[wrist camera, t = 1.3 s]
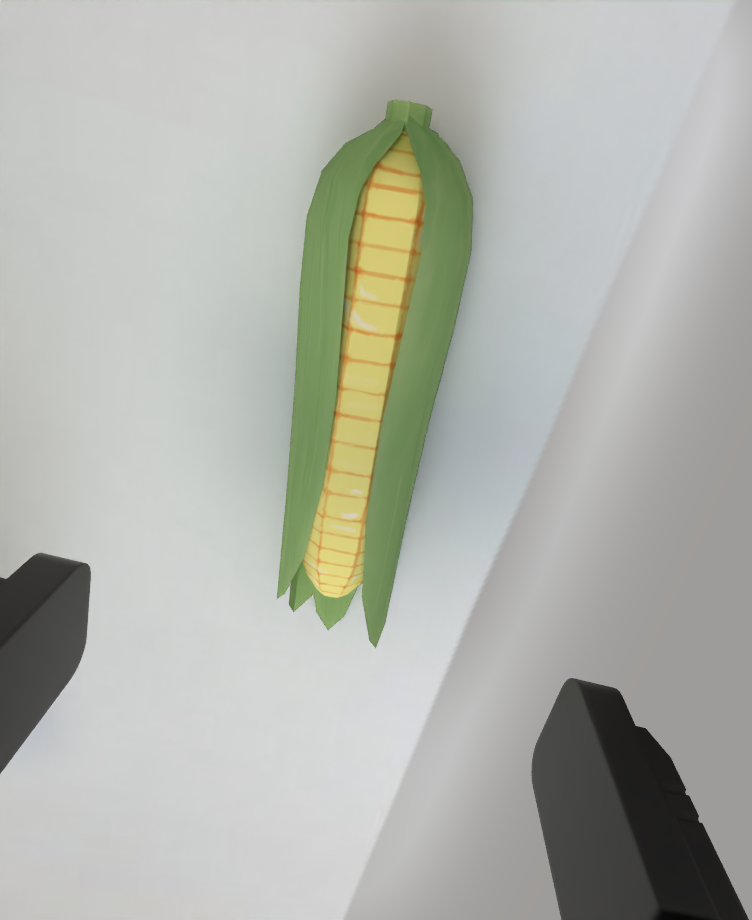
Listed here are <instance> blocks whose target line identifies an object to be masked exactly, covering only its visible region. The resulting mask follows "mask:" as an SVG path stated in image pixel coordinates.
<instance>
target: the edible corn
mask: <svg viewBox="0 0 752 920" xmlns="http://www.w3.org/2000/svg"><path fill="white" fill-rule="evenodd" d="M431 115H432V109H431V108H429V107H428V106H426V105H422V104H418V103H414V102H410V101H400V100H392V101H388V105H387V112H386V118H385V119H384V120H383V121H382V122H381V123H380V124H379V125H377V126H376V127H375V128H374V129H372V130H370V131H368V132H366V133H364V134H362V135H361V136H359V137H357V138H355V139H353V140H351V141H349V142H347V143H345V144H344V146H343V147H342V148H341V149H340V150H339V151H338V153H337V154H336V155H335V156H334V157H333V158H332V160H331V161H330V162H329V163H328V164H327V165H326V167H325V168H324V169H323V170H322V172H321V175H320V178H319V181H318V184H317V187H316V190H315V193H314V196H313V199H312V203H311V206H310V209H309V212H308V215H307V220H306V230H305V241H304V251H303V262H302V272H301V282H300V298H299V317H298V337H297V356H296V375H295V390H294V403H293V416H292V429H291V442H290V455H289V468H288V481H287V494H286V505H285V515H284V526H283V537H282V548H281V559H280V570H279V581H278V592H277V598H279V597H280V596H282V595H283V594H285V592H286V590H287V588H288V587H289V585H290V583H291V586H290V598H289V605H290V607H291V608H292V610H293V612H294V611H295V610H296V609H297V608H298V607H300V606H301V605H302V604H303V603H304V602H305V601H306V600H307V599H308V598H310V597H311V596H312V595H313V593H314V599H315V605H316V612H317V614H318V615H319V617H320V619H321V620H322V622H323V623H324V625H325V626H326V628H327V630H329V629H330V628H331V627H332V626H333V625H334V624H336V623H337V622H338V621H339V620H340V619H341V618H342V617H344V615H345V613H346V611H347V609H348V607H349V605H350V602H351V600H352V598H353V596H354V594H355V592H356V590H357V587H358V586H359V585H360V584H361V583H362V582H363V588H362V600H363V605H364V611H365V617H366V623H367V629H368V635H369V640H370V642H371V643H372V644H373V646H374V647H375V648H376V646H377V643H378V641H379V638H380V635H381V633H382V630H383V628H384V625H385V622H386V617H387V612H388V607H389V602H390V597H391V592H392V588H393V583H394V578H395V573H396V568H397V563H398V558H399V553H400V548H401V543H402V538H403V534H404V529H405V524H406V519H407V514H408V510H409V506H410V501H411V497H412V493H413V488H414V484H415V480H416V476H417V471H418V467H419V463H420V458H421V454H422V450H423V445H424V441H425V437H426V432H427V428H428V424H429V420H430V416H431V412H432V408H433V405H434V401H435V397H436V393H437V390H438V386H439V382H440V378H441V375H442V371H443V367H444V364H445V360H446V356H447V352H448V349H449V345H450V341H451V337H452V334H453V330H454V326H455V322H456V317H457V313H458V308H459V304H460V299H461V295H462V290H463V286H464V282H465V277H466V273H467V268H468V264H469V259H470V255H471V248H472V219H473V198H472V195H471V192H470V189H469V186H468V183H467V181H466V177H465V174H464V171H463V168H462V166H461V163H460V161H459V160H458V158H457V157H456V156H455V155H454V154H453V152H452V151H451V149H450V148H449V146H448V145H447V144H446V143H445V142H444V141H443V140H442V139H441V138H440V137H439V135H438V133H436V132H434V131H433V130H431V129H430V128H429V127H430V121H431Z"/></svg>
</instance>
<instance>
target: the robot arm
mask: <svg viewBox="0 0 752 920" xmlns="http://www.w3.org/2000/svg"><path fill="white" fill-rule="evenodd" d="M90 580H91V571H90V567H89V565H88V564H86V563H82V562H78V561H74V560H69V559H65V558H61V557H56V556H52V555H48V554H43V553H38V554H36V555H34V556H33V557H31V558H30V559H29V560H28V561H27V562H26V563H24V564H23V565H22V566H21V567H20V568H19V569H18V570H17V571H15V572H14V573H13V574H12V575H11V576H10V577H9V578H7V579H4V578H0V773H1V772H2V771H3V769H4V768H5V767H6V765H7V764H8V763H9V761H10V760H11V759H12V757H13V756H14V755H15V753H16V752H17V751H18V749H19V748H20V747H21V745H22V744H23V743H24V741H25V740H26V739H27V737H28V736H29V734H30V733H31V732H32V730H33V729H34V728H35V726H36V725H37V724H38V722H39V721H40V720H41V718H42V717H43V716H44V714H45V713H46V712H47V710H48V709H49V708H50V706H51V705H52V704H53V702H54V701H55V700H56V698H57V697H58V695H59V694H60V693H61V691H62V690H63V689H64V687H65V686H66V685H67V683H68V682H69V681H70V679H71V678H72V676H73V675H74V673H75V671H76V669H77V667H78V665H79V663H80V660H81V658H82V655H83V652H84V648H85V644H86V637H87V623H88V609H89V594H90ZM532 784H533V789H534V794H535V798H536V803H537V808H538V812H539V817H540V822H541V826H542V830H543V836H544V840H545V845H546V850H547V854H548V859H549V864H550V868H551V873H552V878H553V882H554V887H555V892H556V896H557V901H558V905H559V910H560V915H561V920H749V919H748V917H747V915H746V913H745V911H744V909H743V907H742V905H741V902H740V900H739V898H738V896H737V894H736V892H735V890H734V888H733V886H732V884H731V882H730V880H729V878H728V876H727V874H726V871H725V869H724V867H723V865H722V863H721V861H720V859H719V857H718V855H717V853H716V851H715V849H714V846H713V844H712V842H711V840H710V838H709V836H708V834H707V832H706V830H705V828H704V826H703V824H702V823H699V821H698V817H699V815H698V813H697V811H696V809H695V807H694V805H693V803H692V801H691V799H690V797H689V796H688V795H686V793H685V791H686V788H685V786H684V784H683V782H682V780H681V778H680V776H679V774H678V772H677V770H676V768H675V766H674V763H673V761H672V759H671V758H670V756H669V755H668V754H667V753H666V752H665V750H664V749H663V748H662V747H661V746H660V745H659V743H658V742H657V741H656V740H655V739H654V738H653V737H652V735H651V734H650V733H649V732H648V730H647V729H646V728H642V727H638V726H635V724H634V721H633V719H632V717H631V715H630V713H629V710H628V708H627V706H626V703H625V701H624V699H623V697H622V695H621V693H620V692H619V691H618V690H617V689H615V688H612V687H608V686H604V685H599V684H595V683H591V682H586V681H582V680H578V679H573V678H570V679H568V680H567V681H566V682H565V683H564V685H563V687H562V688H561V691H560V693H559V695H558V697H557V699H556V702H555V704H554V706H553V708H552V710H551V713H550V715H549V717H548V719H547V721H546V723H545V725H544V728H543V730H542V732H541V734H540V737H539V739H538V741H537V743H536V746H535V749H534V754H533V759H532Z"/></svg>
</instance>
